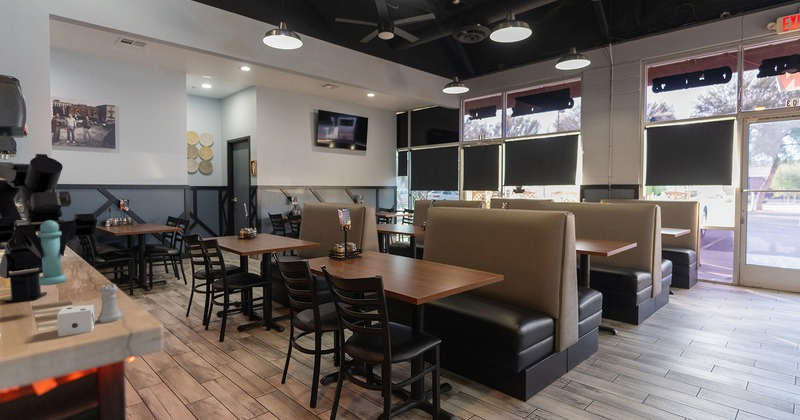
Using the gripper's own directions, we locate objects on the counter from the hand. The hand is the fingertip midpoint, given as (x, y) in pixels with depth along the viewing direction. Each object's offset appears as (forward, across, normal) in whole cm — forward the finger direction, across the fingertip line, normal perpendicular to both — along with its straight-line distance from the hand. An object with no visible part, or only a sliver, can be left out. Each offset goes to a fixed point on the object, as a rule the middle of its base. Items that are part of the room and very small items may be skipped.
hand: (52, 255), depth 91 cm
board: (+11, 0, +8) cm, 13 cm away
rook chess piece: (+21, +6, -2) cm, 22 cm away
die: (+23, 0, -4) cm, 23 cm away
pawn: (+3, 0, +5) cm, 6 cm away
